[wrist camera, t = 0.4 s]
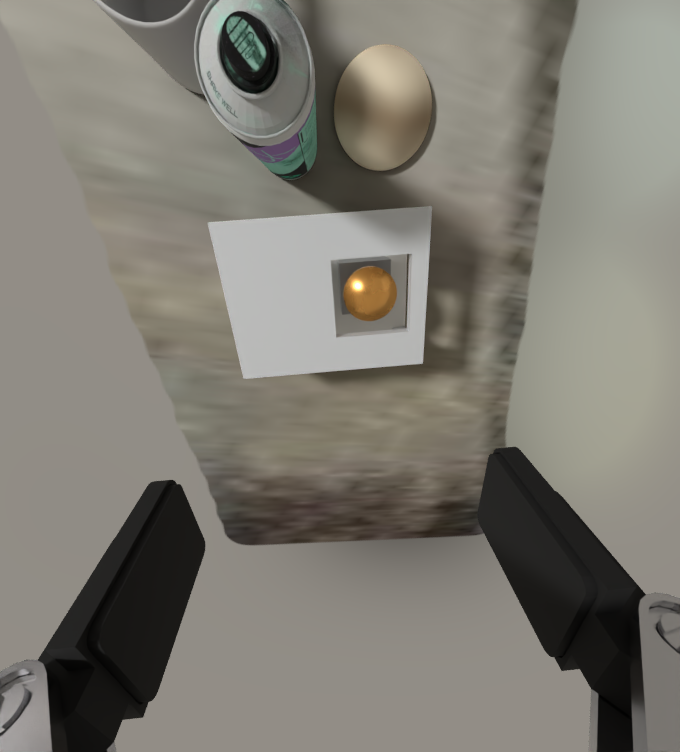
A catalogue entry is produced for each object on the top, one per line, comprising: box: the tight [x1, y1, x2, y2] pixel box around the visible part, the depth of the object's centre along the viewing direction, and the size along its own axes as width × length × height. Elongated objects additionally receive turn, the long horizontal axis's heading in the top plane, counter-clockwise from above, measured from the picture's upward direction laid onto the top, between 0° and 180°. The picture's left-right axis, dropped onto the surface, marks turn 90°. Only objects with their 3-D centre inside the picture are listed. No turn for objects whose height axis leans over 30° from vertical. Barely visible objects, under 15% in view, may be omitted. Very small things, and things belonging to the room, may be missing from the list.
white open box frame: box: [208, 206, 432, 379], centre depth 32 cm, size 14×18×8 cm
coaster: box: [334, 44, 432, 171], centre depth 29 cm, size 9×9×1 cm
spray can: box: [194, 0, 317, 180], centre depth 21 cm, size 6×6×20 cm
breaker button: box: [343, 266, 397, 321], centre depth 31 cm, size 5×5×4 cm
